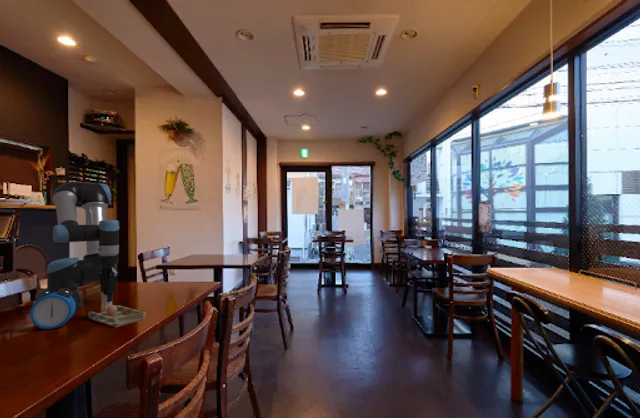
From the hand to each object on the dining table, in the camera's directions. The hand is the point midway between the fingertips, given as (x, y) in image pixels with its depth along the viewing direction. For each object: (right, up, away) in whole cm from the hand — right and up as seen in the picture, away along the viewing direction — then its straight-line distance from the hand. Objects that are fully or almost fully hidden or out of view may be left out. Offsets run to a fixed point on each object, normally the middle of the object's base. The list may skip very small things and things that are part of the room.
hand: (107, 308), depth 141 cm
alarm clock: (-12, -3, -14) cm, 19 cm away
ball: (+3, 0, -1) cm, 3 cm away
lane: (+6, -3, -4) cm, 8 cm away
